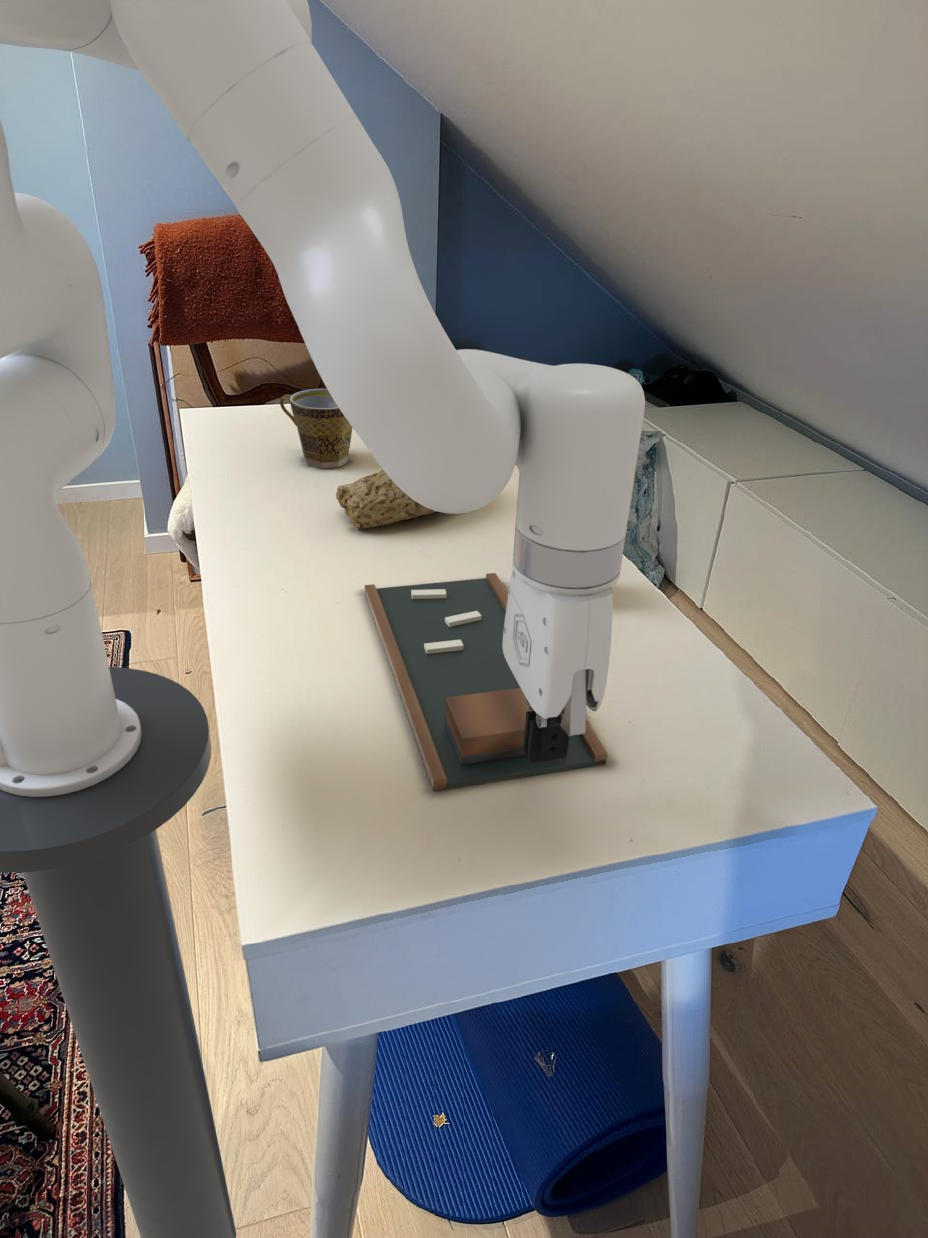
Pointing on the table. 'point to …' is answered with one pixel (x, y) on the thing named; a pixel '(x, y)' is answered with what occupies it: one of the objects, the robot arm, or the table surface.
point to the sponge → (377, 501)
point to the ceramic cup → (320, 428)
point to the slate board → (457, 675)
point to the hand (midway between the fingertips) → (544, 753)
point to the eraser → (487, 725)
